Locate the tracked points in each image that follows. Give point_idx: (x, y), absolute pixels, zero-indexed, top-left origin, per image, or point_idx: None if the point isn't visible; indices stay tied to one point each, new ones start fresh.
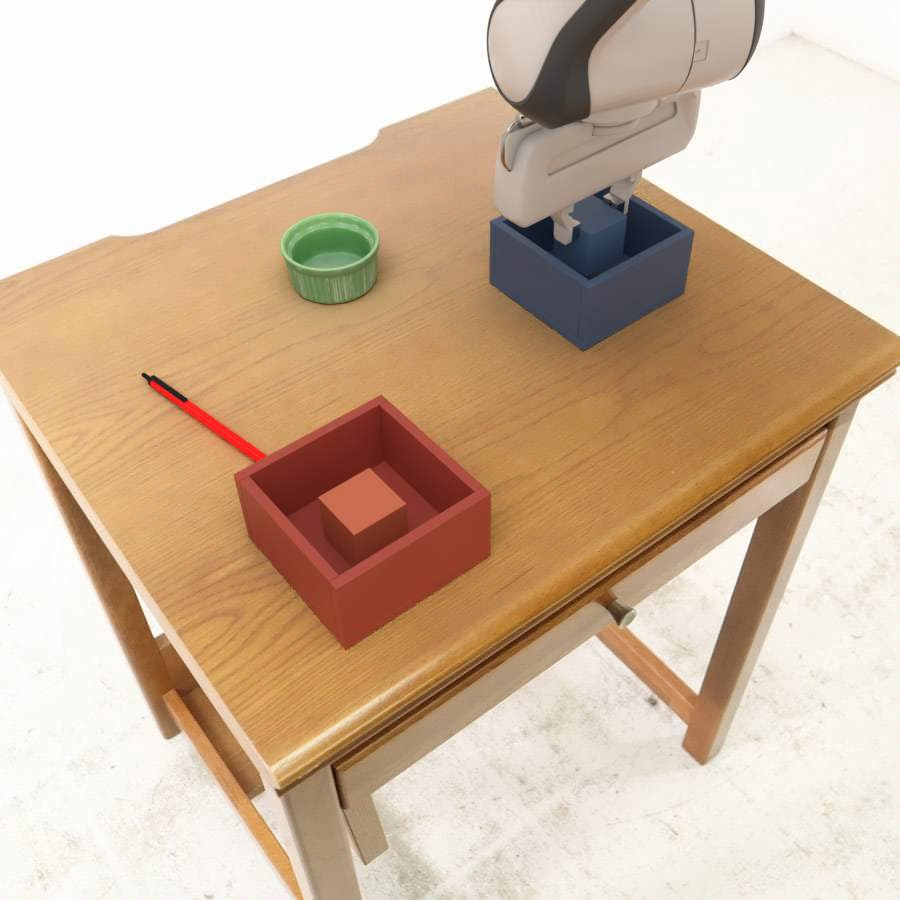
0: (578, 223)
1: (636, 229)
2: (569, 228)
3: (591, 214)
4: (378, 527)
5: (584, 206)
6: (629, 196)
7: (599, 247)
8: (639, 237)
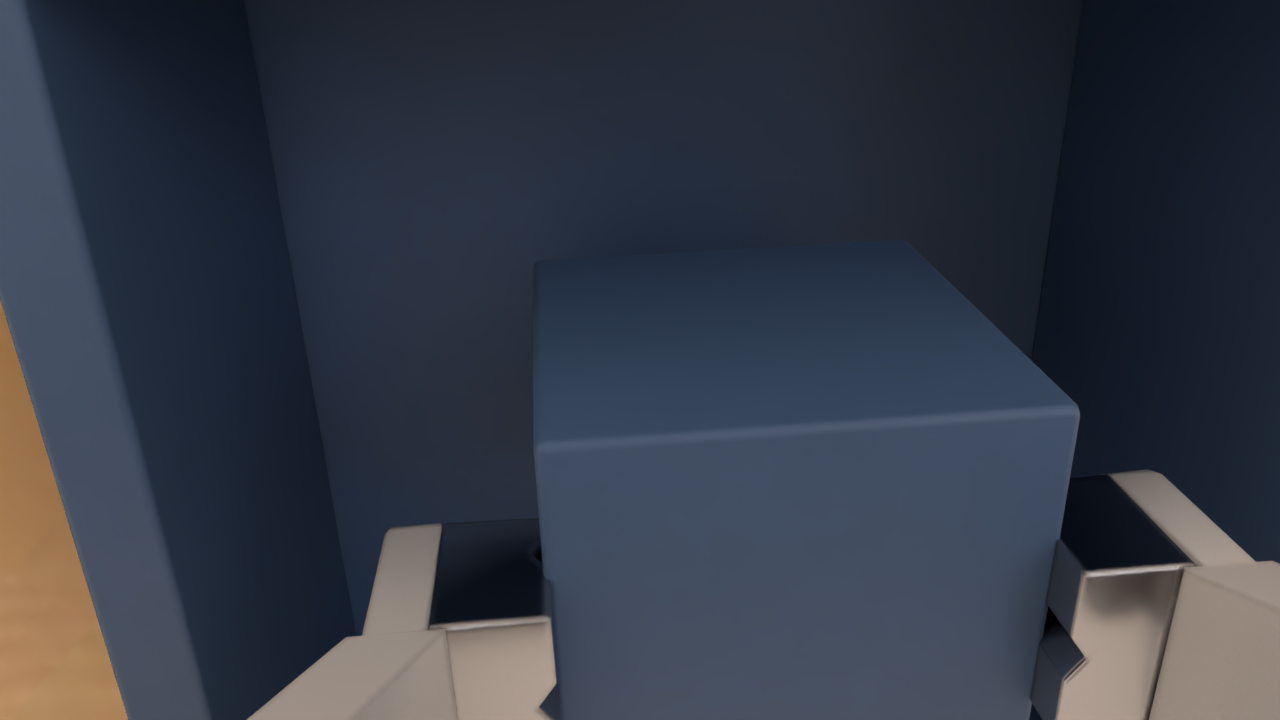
0: (1111, 580)
1: (244, 435)
2: (1256, 562)
3: (807, 641)
4: None
5: None
6: (365, 650)
7: (861, 326)
8: (249, 375)
